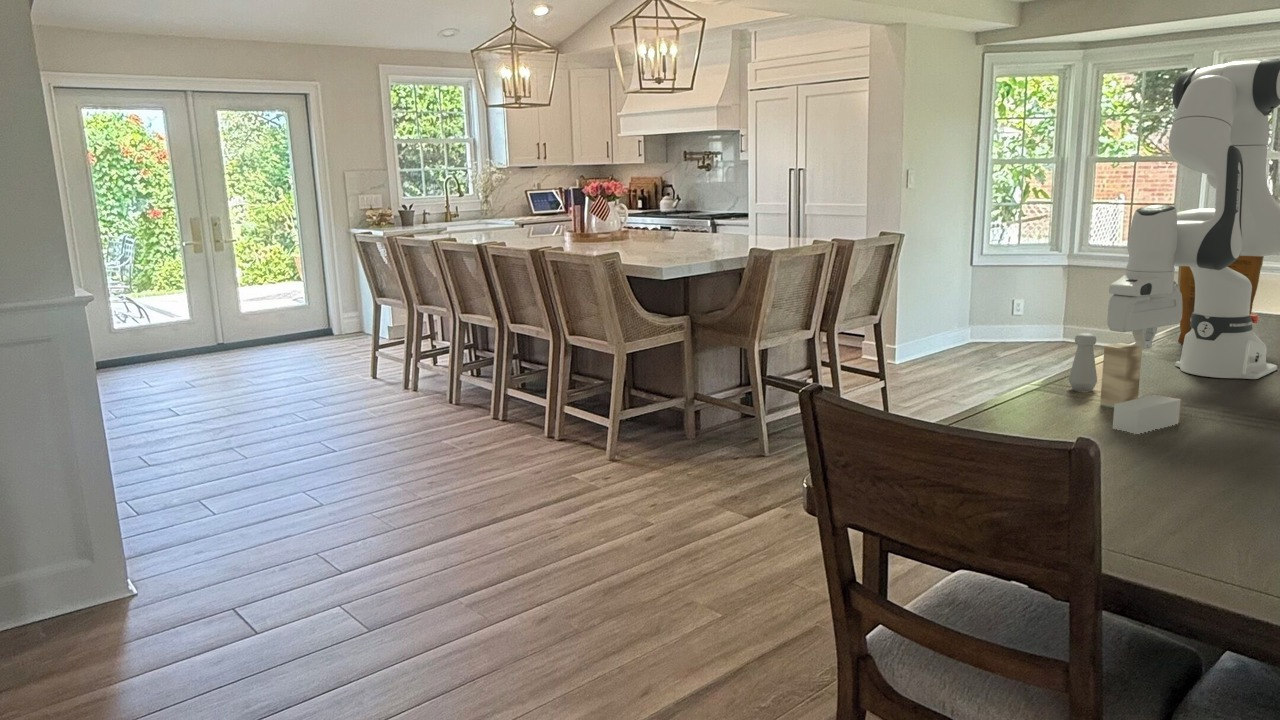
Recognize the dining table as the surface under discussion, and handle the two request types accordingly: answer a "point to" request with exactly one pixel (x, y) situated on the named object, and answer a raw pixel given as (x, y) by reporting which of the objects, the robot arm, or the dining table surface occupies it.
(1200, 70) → the robot arm
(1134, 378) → the maple block
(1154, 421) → the white block
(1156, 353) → the dining table surface
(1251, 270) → the pancake mix bag
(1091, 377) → the salt shaker
